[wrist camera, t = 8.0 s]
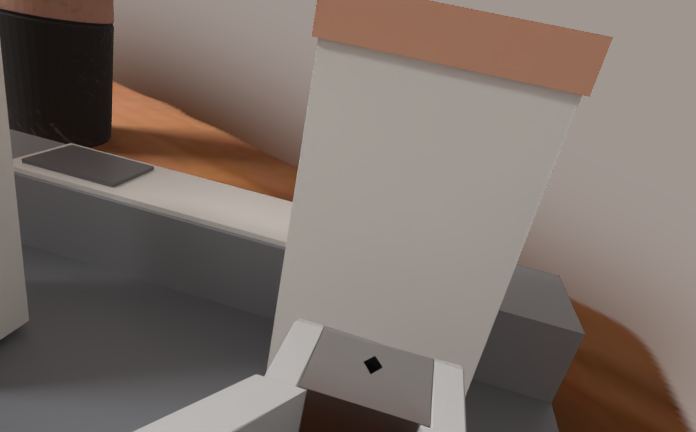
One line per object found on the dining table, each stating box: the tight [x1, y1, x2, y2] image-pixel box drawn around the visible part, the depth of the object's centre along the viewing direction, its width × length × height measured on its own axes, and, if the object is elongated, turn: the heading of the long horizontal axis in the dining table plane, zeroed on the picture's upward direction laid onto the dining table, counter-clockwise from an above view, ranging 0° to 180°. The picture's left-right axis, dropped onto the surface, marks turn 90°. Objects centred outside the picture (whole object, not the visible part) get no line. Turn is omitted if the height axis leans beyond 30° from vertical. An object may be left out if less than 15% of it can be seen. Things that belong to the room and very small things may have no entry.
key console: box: [0, 129, 585, 432], centre depth 14 cm, size 26×16×5 cm, turn 78°
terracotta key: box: [266, 0, 612, 396], centre depth 12 cm, size 3×5×11 cm, turn 78°
